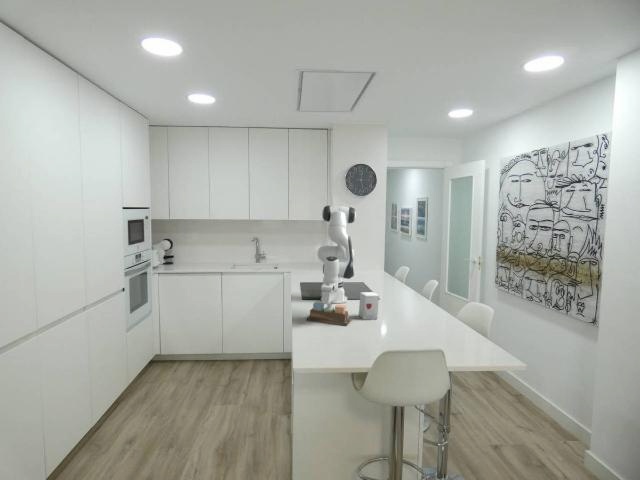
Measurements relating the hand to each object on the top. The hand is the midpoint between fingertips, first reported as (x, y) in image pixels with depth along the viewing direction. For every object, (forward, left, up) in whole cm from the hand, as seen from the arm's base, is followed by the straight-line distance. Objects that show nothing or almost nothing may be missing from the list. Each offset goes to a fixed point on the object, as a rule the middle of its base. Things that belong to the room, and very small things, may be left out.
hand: (329, 308), depth 230 cm
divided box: (0, 0, -7) cm, 7 cm away
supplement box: (-18, +20, -8) cm, 28 cm away
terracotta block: (0, +7, -3) cm, 7 cm away
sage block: (0, 0, -5) cm, 5 cm away
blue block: (0, -7, -3) cm, 7 cm away
